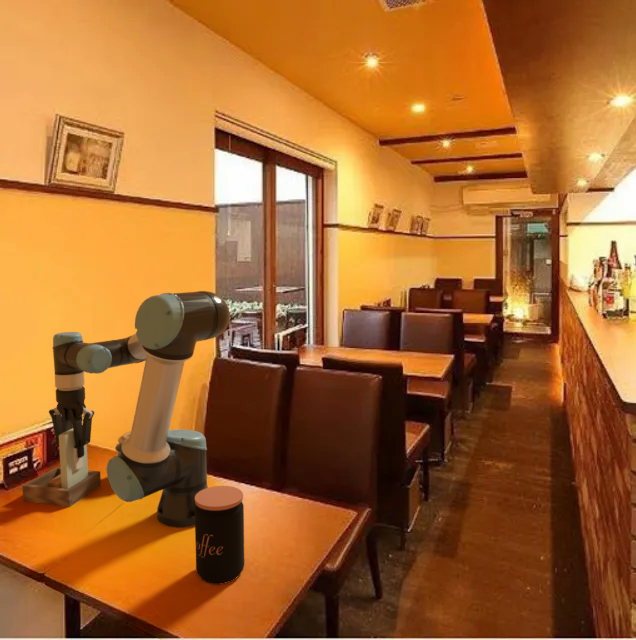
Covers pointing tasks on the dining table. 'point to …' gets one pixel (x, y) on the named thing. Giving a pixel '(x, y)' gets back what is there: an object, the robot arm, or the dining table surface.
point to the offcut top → (55, 482)
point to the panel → (70, 461)
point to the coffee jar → (219, 533)
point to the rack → (59, 489)
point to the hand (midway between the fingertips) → (74, 467)
